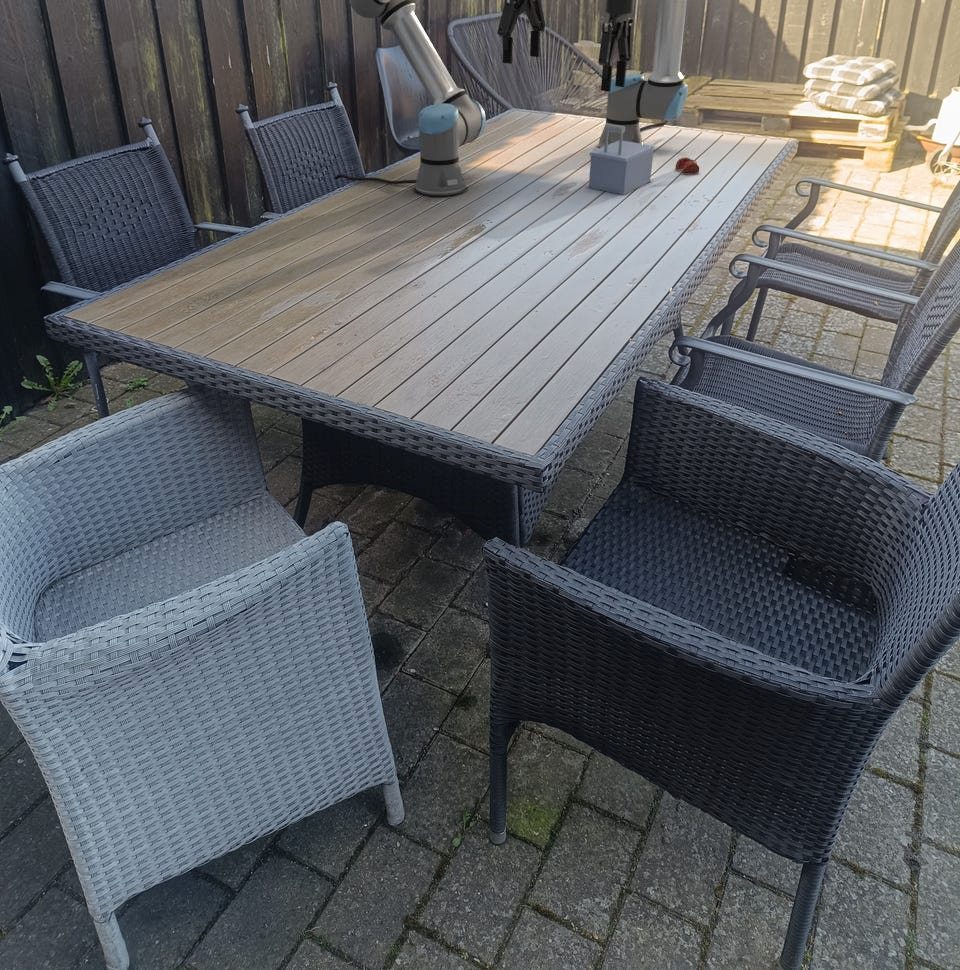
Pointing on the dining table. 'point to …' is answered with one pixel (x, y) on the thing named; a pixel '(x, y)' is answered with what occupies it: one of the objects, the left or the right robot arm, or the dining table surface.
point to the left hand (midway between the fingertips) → (521, 59)
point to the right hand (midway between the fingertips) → (612, 88)
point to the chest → (620, 173)
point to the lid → (620, 146)
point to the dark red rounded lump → (687, 165)
